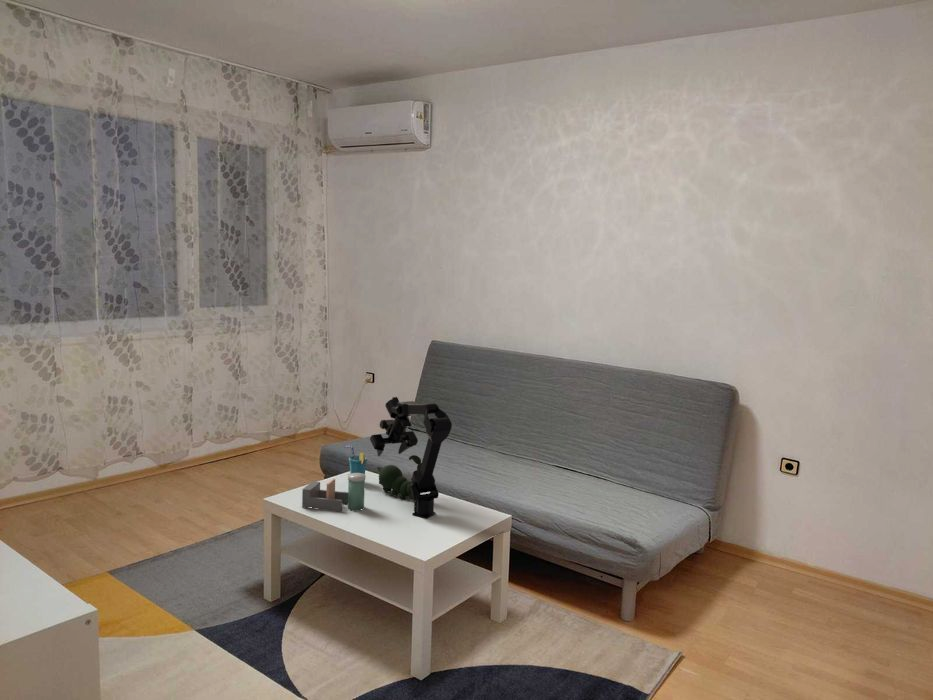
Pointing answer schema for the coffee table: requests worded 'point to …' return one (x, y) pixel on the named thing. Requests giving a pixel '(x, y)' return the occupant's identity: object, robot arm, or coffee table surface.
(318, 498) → the pusher lane
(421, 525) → the coffee table surface
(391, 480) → the toy figurine
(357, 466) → the cup
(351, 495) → the jar
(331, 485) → the pusher plate
